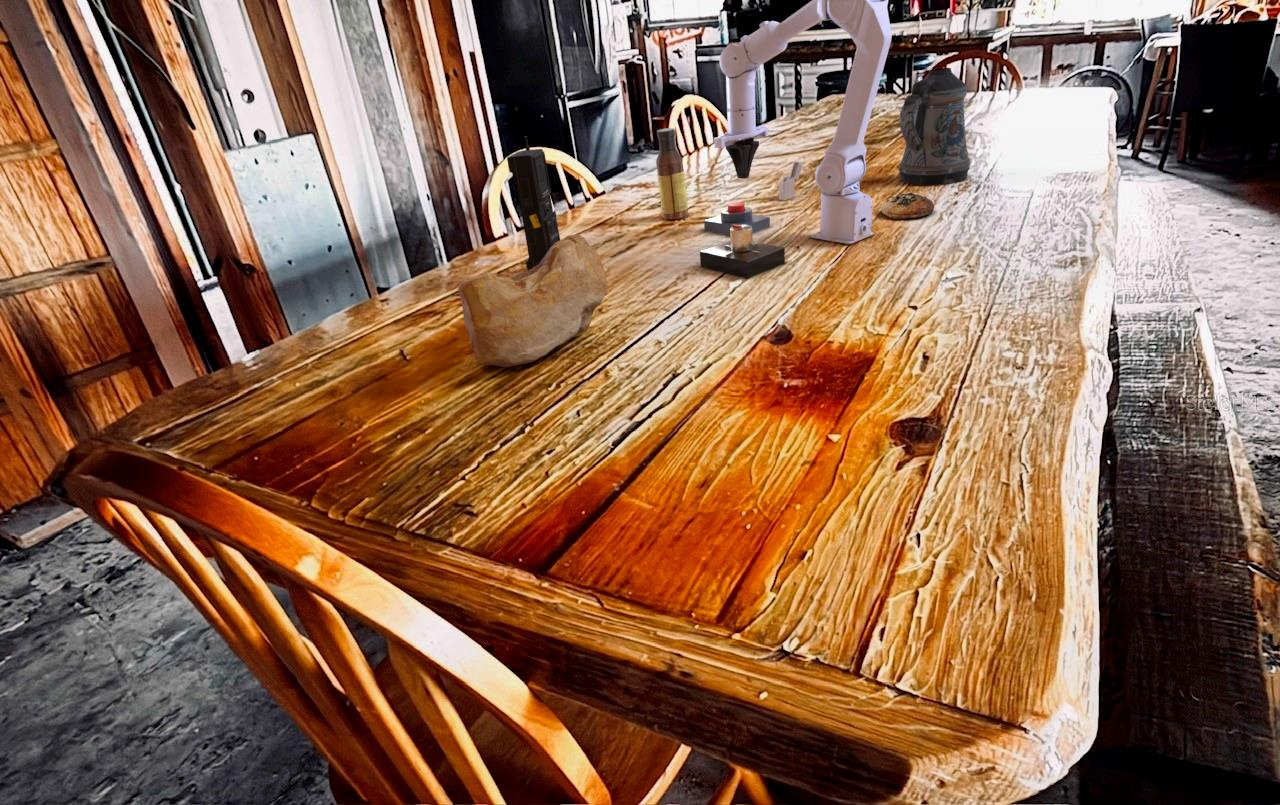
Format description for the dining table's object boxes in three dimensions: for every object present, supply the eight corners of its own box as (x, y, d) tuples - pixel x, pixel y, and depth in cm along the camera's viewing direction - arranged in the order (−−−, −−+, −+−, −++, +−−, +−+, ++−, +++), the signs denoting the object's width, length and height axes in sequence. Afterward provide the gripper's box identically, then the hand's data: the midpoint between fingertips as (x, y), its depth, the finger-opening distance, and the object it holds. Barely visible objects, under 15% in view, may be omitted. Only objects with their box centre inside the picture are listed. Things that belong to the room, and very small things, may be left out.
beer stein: (974, 171, 179) (987, 62, 167) (959, 189, 165) (972, 71, 153) (906, 170, 187) (914, 67, 175) (887, 187, 173) (894, 76, 161)
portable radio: (555, 278, 135) (533, 141, 124) (526, 278, 137) (501, 143, 125) (566, 265, 142) (547, 134, 130) (538, 266, 143) (516, 136, 132)
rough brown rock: (568, 311, 121) (548, 224, 114) (627, 326, 108) (608, 230, 102) (446, 361, 109) (416, 268, 103) (496, 385, 97) (466, 280, 90)
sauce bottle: (688, 213, 170) (683, 125, 160) (687, 219, 164) (682, 129, 155) (661, 215, 171) (654, 128, 161) (660, 221, 165) (652, 132, 156)
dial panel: (784, 263, 130) (784, 246, 128) (748, 278, 124) (747, 261, 123) (736, 253, 138) (736, 237, 137) (700, 266, 133) (699, 250, 131)
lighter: (784, 200, 171) (784, 166, 168) (778, 199, 173) (778, 166, 169) (802, 194, 175) (802, 161, 172) (796, 193, 176) (797, 160, 173)
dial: (757, 248, 129) (756, 224, 127) (742, 253, 127) (741, 230, 125) (740, 244, 132) (740, 221, 130) (726, 250, 130) (725, 227, 128)
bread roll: (946, 212, 148) (945, 188, 145) (903, 229, 145) (901, 205, 143) (910, 204, 157) (908, 182, 155) (868, 220, 155) (866, 198, 153)
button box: (770, 227, 152) (769, 208, 150) (741, 237, 147) (741, 218, 145) (732, 220, 160) (731, 202, 158) (704, 230, 155) (703, 212, 153)
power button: (748, 211, 151) (748, 203, 151) (736, 215, 150) (736, 206, 149) (735, 209, 154) (735, 201, 153) (724, 213, 152) (724, 205, 151)
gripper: (750, 103, 150) (751, 169, 156) (702, 114, 142) (705, 183, 149) (776, 104, 145) (776, 172, 152) (727, 115, 137) (730, 186, 144)
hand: (743, 177), depth 150 cm, fingers closed
